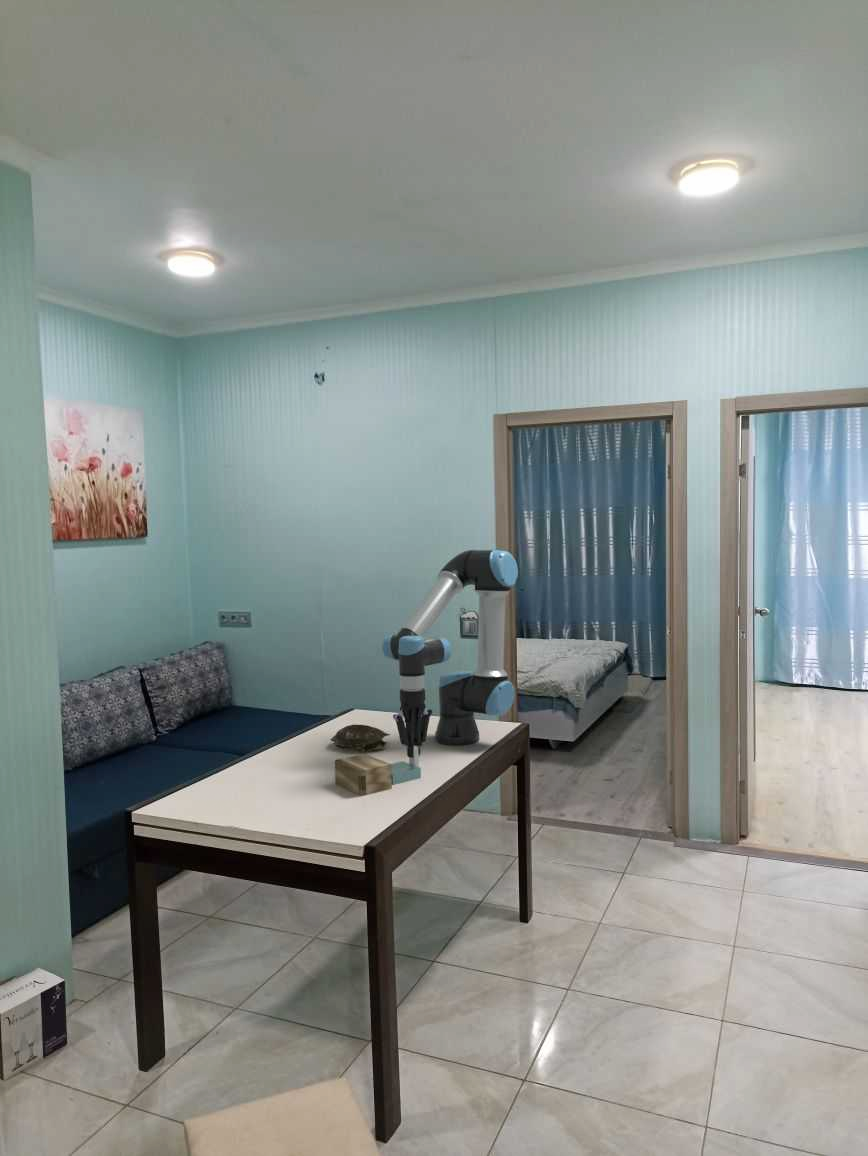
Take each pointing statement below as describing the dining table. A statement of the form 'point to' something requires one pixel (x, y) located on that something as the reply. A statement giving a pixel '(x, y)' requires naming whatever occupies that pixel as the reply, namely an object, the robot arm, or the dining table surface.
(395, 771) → the teal tabbed plate
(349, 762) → the overhang
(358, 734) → the turtle shell
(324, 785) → the dining table surface
